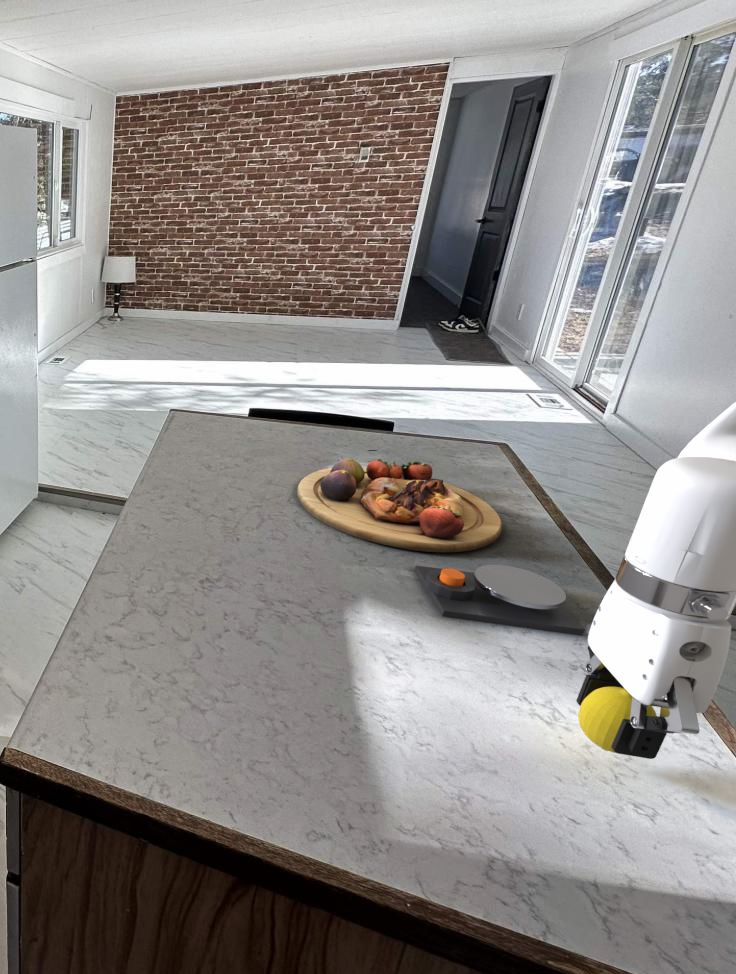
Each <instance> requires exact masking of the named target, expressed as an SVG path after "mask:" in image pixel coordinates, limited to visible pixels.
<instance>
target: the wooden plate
mask: <svg viewBox="0 0 736 974" xmlns="http://www.w3.org/2000/svg"><path fill="white" fill-rule="evenodd" d="M367 462H368V465H367V466H362V464H360V463H359V462H358V461H356V460H354V459H353V458H352V457H348V458H345V459H342V460H340V461H338V462H336V463H335V464H334V465H333V466H332V467H329V468H324V469H319V470H315V471H313V472H311V473H309V474H307V475H305V476H304V477H303V478H302V479H301V480H300V481H299V483H298V485H297V489H296V494H297V499H298V500H299V503H300V504H301V505H302V507H303V509H305V510H306V511H307V512H308V513H309V514H311V516H313V517H314V518H315V519H317V520H319V521H320V522H322V523H324V524H326V525H327V526H330V527H332V528H334V529H336V530H338V531H341V532H343V533H344V534H348V535H350V536H353V537H356V538H358V539H362V540H364V541H368V542H372V543H375V544H380V545H383V546H388V547H393V548H397V549H403V550H409V551H418V552H425V553H461V552H468V551H474V550H477V549H480V548H484V547H487V546H489V545H491V544H493V543H494V542H495V541H497V540H498V539H499V538H500V535H501V534H502V531H503V527H504V526H503V521H502V519H501V517H500V516H499V514H498V512H497V511H496V510H495V509H494V508H493V507H492V506H491V505H489V503H487V502H486V501H484V500H482V498H480V497H478V496H476V495H475V494H473V493H471V492H469V491H467V490H464V489H462V488H460V487H458V486H455V485H452V484H450V483H447V482H444V479H438V478H432V477H433V467H432V466H431V464H428V463H426V462H423V463H422V462H421V461H420V460H417V461H415V460H413V461H412V462H411V461H408V462H407V464H402V465H399V464H396V462H395V461H393V462H391V463H389V464H388V462H387V460H386V461H385V460H384V461H383V460H382V459H381V458H378V459H376V460H371V461H367Z"/></svg>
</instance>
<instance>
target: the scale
mask: <svg viewBox="0 0 736 974" xmlns="http://www.w3.org/2000/svg"><path fill="white" fill-rule="evenodd" d="M443 569H444V568H439V567H432V566H422V565H415V566H414V571H413V572H414V574H415V575H416V577H417V578H418V580H419V581H420V583H421V585H422V586H423V588H424V590H425V591H426V593H427V594H428V596H429V598H430V599H431V601H432V602H433V604H434V606H435V608H436V609H437V611H438V612H439V614H440V616H441V617H443V618H450V619H458V620H465V621H472V622H479V623H488V624H494V625H501V626H509V627H515V628H522V629H530V630H538V631H543V632H544V631H545V632H551V633H558V634H566V635H572V636H573V635H574V636H581V637H583V635H584V633H585V629H586V628H584V627H583V626H582V625H581V624H580V623H579V621H578V620H577V619H576V618H575V617H574V616H573V615H572V614H571V612H569V610H568V609H567V608H566V607H565V606H564V604H563V605H562V606H561V607H559V608H556V609H546V610H545V609H533V608H527V607H523V606H519V605H515V604H512V603H509V602H506V601H503V600H501V599H499V598H496V597H494V596H492V595H491V594H489V593H487V592H486V591H484V590H483V589H481V588H480V587H479V586H478V585H477V584H476V582H475V581H474V573H475V571H474V572H473V571H464V570H459V571H460V572H462V573H463V574H464V575H465V580H464V583H463V586H462V587H455V586H450V585H447V584H444V583H443V582H441V581H440V580H439V578H440V574H441V571H442V570H443Z"/></svg>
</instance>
